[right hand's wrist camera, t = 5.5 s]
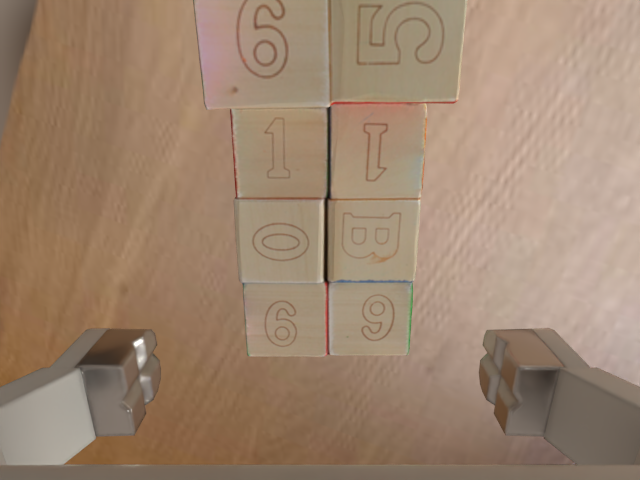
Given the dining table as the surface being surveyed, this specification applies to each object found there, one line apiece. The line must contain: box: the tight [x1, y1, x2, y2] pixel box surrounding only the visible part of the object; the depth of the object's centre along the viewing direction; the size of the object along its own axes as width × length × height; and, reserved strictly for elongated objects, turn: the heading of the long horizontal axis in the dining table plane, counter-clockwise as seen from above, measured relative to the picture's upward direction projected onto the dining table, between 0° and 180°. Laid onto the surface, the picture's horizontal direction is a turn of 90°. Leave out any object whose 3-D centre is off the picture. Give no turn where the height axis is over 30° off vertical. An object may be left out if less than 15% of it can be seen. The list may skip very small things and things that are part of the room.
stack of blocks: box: [193, 0, 467, 357], centre depth 15 cm, size 21×6×12 cm, turn 0°
